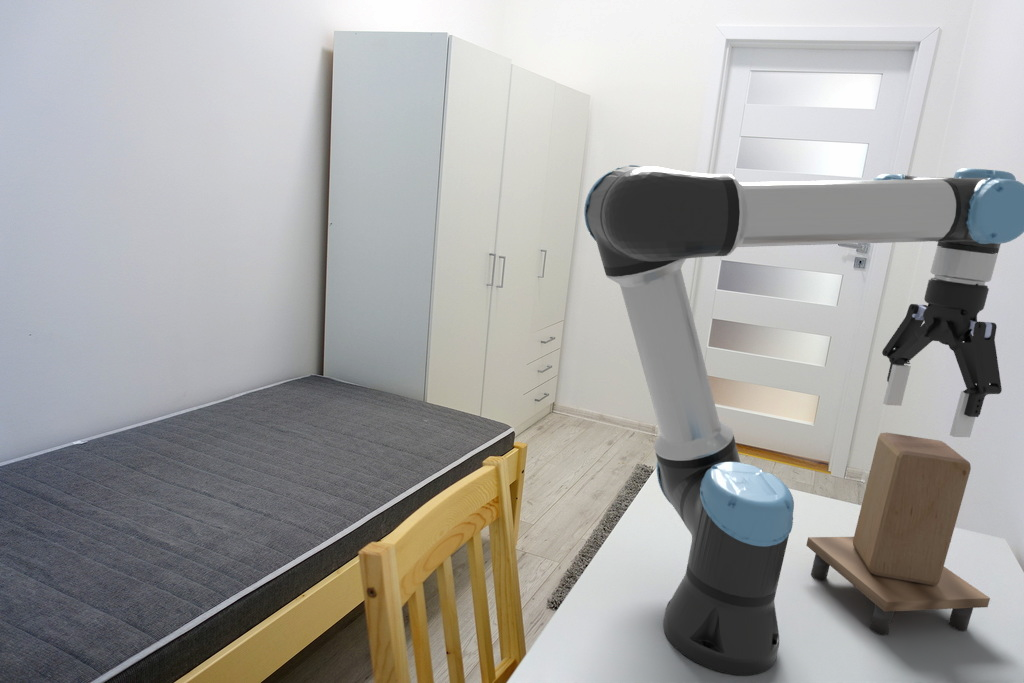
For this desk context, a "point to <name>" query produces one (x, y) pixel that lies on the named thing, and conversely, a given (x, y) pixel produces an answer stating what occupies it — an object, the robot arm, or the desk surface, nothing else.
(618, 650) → the desk surface
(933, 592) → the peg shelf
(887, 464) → the wooden block
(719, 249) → the robot arm
